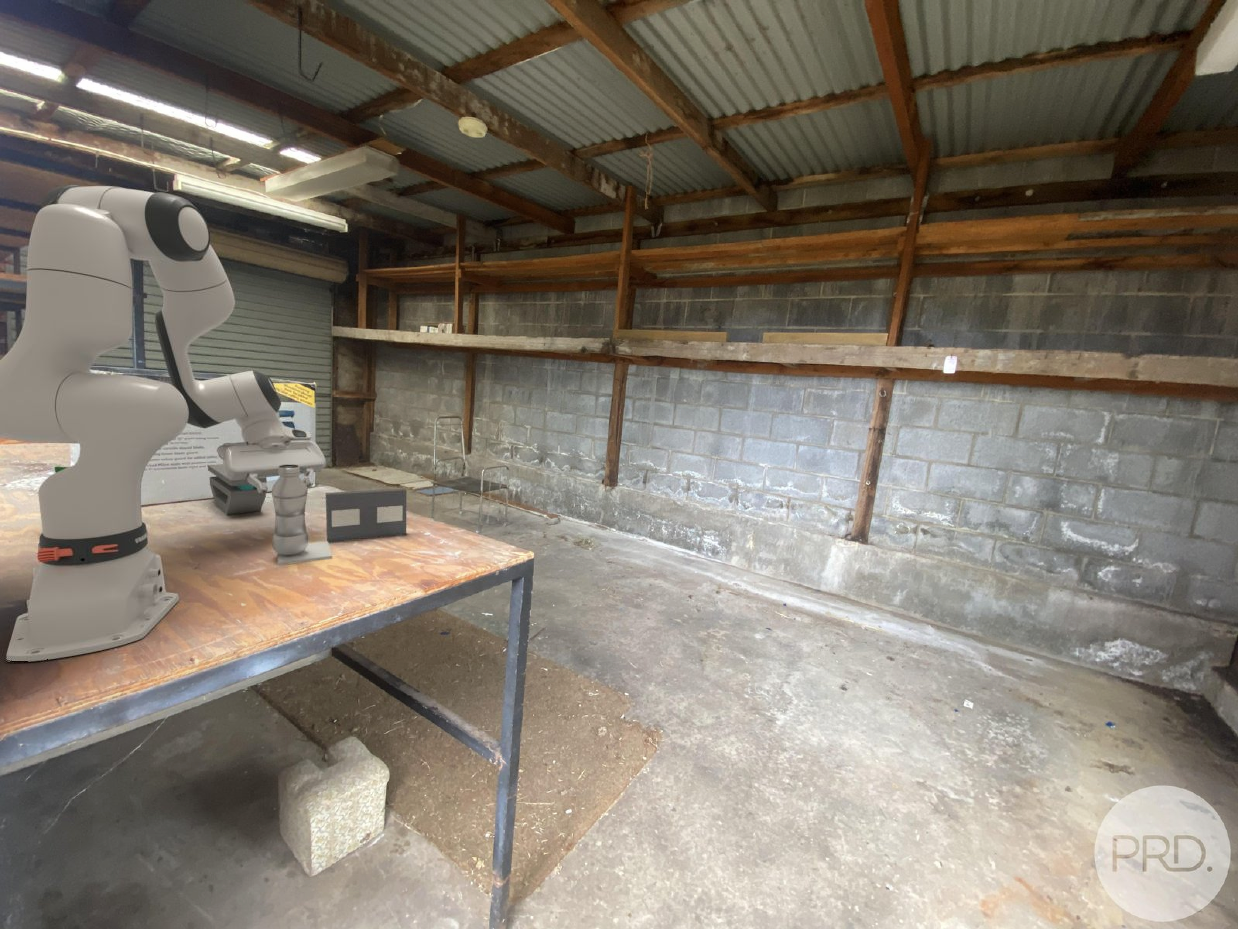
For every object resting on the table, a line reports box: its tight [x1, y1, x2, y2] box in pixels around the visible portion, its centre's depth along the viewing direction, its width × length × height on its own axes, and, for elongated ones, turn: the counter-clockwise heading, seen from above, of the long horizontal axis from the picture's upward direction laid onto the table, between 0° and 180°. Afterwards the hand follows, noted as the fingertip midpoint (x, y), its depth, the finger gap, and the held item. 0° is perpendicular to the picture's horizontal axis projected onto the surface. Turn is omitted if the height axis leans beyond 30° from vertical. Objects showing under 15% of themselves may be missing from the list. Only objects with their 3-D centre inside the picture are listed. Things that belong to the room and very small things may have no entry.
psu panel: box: [325, 488, 407, 544], centre depth 126 cm, size 2×18×12 cm, turn 125°
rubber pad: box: [277, 540, 333, 566], centre depth 113 cm, size 11×10×1 cm
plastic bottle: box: [271, 464, 309, 555], centre depth 109 cm, size 6×7×20 cm
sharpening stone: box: [207, 463, 268, 516], centre depth 143 cm, size 25×8×11 cm, turn 50°
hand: (287, 488), depth 116 cm, fingers open, 8 cm apart
